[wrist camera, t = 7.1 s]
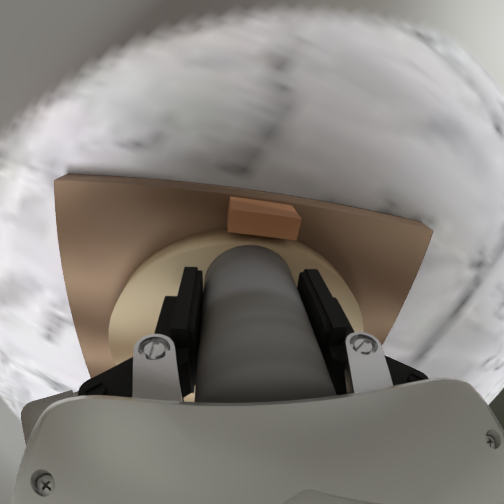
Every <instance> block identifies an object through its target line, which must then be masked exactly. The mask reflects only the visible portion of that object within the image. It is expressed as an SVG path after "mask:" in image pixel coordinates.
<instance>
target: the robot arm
mask: <svg viewBox="0 0 504 504" xmlns="http://www.w3.org/2000/svg"><path fill="white" fill-rule="evenodd" d="M297 289H298V292H299V295H300V297H301V300H302V302H303V305H304V308H305V310H306V313H307V315H308V318H309V321H310V323H311V326H312V329H313V331H314V334H315V337H316V339H317V342H318V345H319V348H320V350H321V353H322V356H323V358H324V361H325V364H326V367H327V370H328V372H329V375H330V378H331V381H332V383H333V386H334V389H335V392H336V396H329V397H320V398H311V399H301V400H289V401H273V402H248V403H208V402H184V397H186V396H187V395H189V394H190V393H194V391H195V384H196V369H197V356H198V344H199V332H200V321H201V310H202V300H203V272H202V270H198V267H184V271H183V275H182V279H181V283H180V287H179V291H178V295H177V296H165V298H164V301H163V304H162V308H161V311H160V315H159V318H158V322H157V325H156V329H155V332H154V334H150V335H146V336H144V337H142V338H140V339H139V340H138V341H137V342H136V343H135V345H134V350H133V357H131V358H129V359H128V360H126V361H124V362H122V363H120V364H118V365H116V366H114V367H112V368H110V369H108V370H107V371H105V372H103V373H101V374H99V375H97V376H95V377H93V378H91V379H89V380H87V381H86V382H84V383H83V384H82V386H81V387H80V389H79V391H78V392H74V393H73V391H72V390H70V391H67V392H63V393H60V394H57V395H53V396H50V397H46V398H43V399H39V400H35V401H32V402H30V403H27V404H26V405H25V406H24V407H23V409H22V412H21V421H22V427H23V432H24V437H25V442H26V449H25V451H24V454H23V457H22V460H21V463H20V467H19V471H18V474H17V479H16V483H15V488H14V492H13V497H12V502H11V504H504V431H503V429H502V427H501V426H500V424H499V422H498V420H497V419H496V417H495V415H494V414H493V412H492V411H491V409H490V407H489V406H488V404H487V403H486V402H485V400H484V399H483V398H482V396H481V395H480V394H479V393H478V391H477V390H476V389H475V388H474V387H473V386H472V385H470V384H469V383H467V382H465V381H462V380H457V379H449V378H435V379H428V377H427V376H426V375H425V374H424V373H422V372H420V371H418V370H416V369H414V368H412V367H409V366H407V365H405V364H403V363H401V362H398V361H396V360H394V359H392V358H390V357H387V356H385V355H384V352H383V349H382V346H381V344H380V342H379V340H378V339H377V338H376V337H374V336H373V335H371V334H368V333H365V332H355V331H354V330H353V328H352V326H351V324H350V322H349V320H348V318H347V316H346V315H345V313H344V311H343V309H342V307H341V305H340V303H339V302H338V300H337V299H336V298H335V297H332V295H331V293H330V291H329V289H328V287H327V285H326V284H325V282H324V280H323V278H322V276H321V274H320V273H319V271H318V269H304V271H303V272H300V274H299V278H298V284H297Z"/></svg>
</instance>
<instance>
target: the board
mask: <svg viewBox="0 0 504 504" xmlns="http://www.w3.org/2000/svg"><path fill="white" fill-rule="evenodd" d="M54 195H55V211H56V223H57V233H58V242H59V250H60V257H61V263H62V269H63V275H64V281H65V286H66V291H67V296H68V300H69V305H70V309H71V313H72V317H73V321H74V325H75V329H76V332H77V336H78V340H79V343H80V346H81V350H82V353H83V356H84V359H85V362H86V365H87V368H88V371H89V374H90V377H91V378H93V377H95V376H97V375H99V374H101V373H103V372H105V371H107V370H108V369H110V368H112V367H114V366H116V364H115V362H114V360H113V357H112V354H111V351H110V345H109V324H110V319H111V315H112V312H113V310H114V307H115V305H116V303H117V301H118V299H119V297H120V295H121V293H122V291H123V289H124V287H125V285H126V283H127V282H128V280H129V279H130V277H131V275H132V274H133V273H134V271H135V270H136V269H137V268H138V267H139V266H140V265H141V264H142V263H143V262H144V261H145V260H146V259H148V258H149V257H150V256H152V255H153V254H154V253H155V252H157V251H158V250H160V249H162V248H164V247H166V246H167V245H169V244H171V243H173V242H175V241H178V240H180V239H183V238H186V237H188V236H191V235H195V234H199V233H204V232H208V231H215V230H224V229H228V232H232V233H240V234H249V235H257V236H265V237H273V238H281V239H289V240H296V241H298V242H301V243H303V244H305V245H307V246H308V247H310V248H312V249H313V250H315V251H316V252H318V253H320V254H321V255H322V256H323V257H324V258H325V259H327V260H328V261H329V262H330V263H331V264H332V265H333V266H334V267H335V269H336V270H337V271H338V272H339V274H340V275H341V276H342V278H343V279H344V281H345V282H346V284H347V286H348V287H349V289H350V290H351V292H352V293H353V295H354V297H355V299H356V301H357V303H358V305H359V308H360V311H361V314H362V318H363V327H364V330H363V332H365V333H368V334H371V335H373V336H374V337H376V338H377V339H378V340H379V342H380V344H381V346H382V344H383V343H384V341H385V339H386V337H387V335H388V333H389V332H390V330H391V328H392V326H393V324H394V322H395V320H396V318H397V316H398V314H399V312H400V310H401V308H402V306H403V304H404V302H405V300H406V298H407V295H408V293H409V291H410V289H411V287H412V284H413V282H414V280H415V278H416V275H417V273H418V270H419V268H420V266H421V263H422V261H423V258H424V256H425V253H426V251H427V248H428V245H429V243H430V240H431V237H432V234H433V230H432V229H430V228H429V227H428V226H426V225H425V224H423V223H422V222H419V221H415V220H411V219H406V218H402V217H398V216H393V215H389V214H384V213H380V212H375V211H370V210H365V209H360V208H355V207H350V206H345V205H340V204H335V203H329V202H324V201H318V200H313V199H307V198H301V197H295V196H289V195H283V194H276V193H270V192H263V191H256V190H249V189H241V188H234V187H226V186H218V185H209V184H201V183H191V182H182V181H171V180H160V179H148V178H135V177H120V176H103V175H80V174H66V175H64V176H62V177H60V178H58V179H56V180H54Z"/></svg>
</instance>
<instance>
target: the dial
mask: <svg viewBox="0 0 504 504" xmlns="http://www.w3.org/2000/svg"><path fill="white" fill-rule="evenodd" d="M184 267H198V270H202V272H203V300H202V310H201V321H200V332H199V344H198V356H197V369H196V384H195V391H194V393H190V394H189V395H187V396H186V397H184V402H208V403H248V402H273V401H289V400H301V399H311V398H320V397H329V396H336V392H335V389H334V386H333V383H332V381H331V378H330V375H329V372H328V370H327V367H326V364H325V361H324V358H323V356H322V353H321V350H320V348H319V345H318V342H317V339H316V337H315V334H314V331H313V329H312V326H311V323H310V321H309V318H308V315H307V313H306V310H305V308H304V305H303V302H302V300H301V297H300V295H299V292H298V289H297V284H298V278H299V274H300V272H303V271H304V269H318V271H319V273H320V274H321V276H322V278H323V280H324V282H325V284H326V285H327V287H328V289H329V291H330V293H331V295H332V297H335V298H336V299H337V300H338V302H339V303H340V305H341V307H342V309H343V311H344V313H345V315H346V316H347V318H348V320H349V322H350V324H351V326H352V328H353V330H354V331H355V332H363V330H364V327H363V318H362V314H361V311H360V308H359V305H358V303H357V301H356V299H355V297H354V295H353V293H352V292H351V290H350V289H349V287H348V286H347V284H346V282H345V281H344V279H343V278H342V276H341V275H340V274H339V272H338V271H337V270H336V269H335V267H334V266H333V265H332V264H331V263H330V262H329V261H328V260H327V259H325V258H324V257H323V256H322V255H321V254H320V253H318V252H316V251H315V250H313V249H312V248H310V247H308V246H307V245H305V244H303V243H301V242H298V241H296V240H289V239H281V238H273V237H265V236H257V235H249V234H240V233H232V232H228V229H224V230H215V231H208V232H204V233H199V234H195V235H191V236H188V237H186V238H183V239H180V240H178V241H175V242H173V243H171V244H169V245H167V246H166V247H164V248H162V249H160V250H158V251H157V252H155V253H154V254H153V255H152V256H150V257H149V258H148V259H146V260H145V261H144V262H143V263H142V264H141V265H140V266H139V267H138V268H137V269H136V270H135V271H134V273H133V274H132V275H131V277H130V279H129V280H128V282H127V283H126V285H125V287H124V289H123V291H122V293H121V295H120V297H119V299H118V301H117V303H116V305H115V307H114V310H113V312H112V315H111V319H110V324H109V345H110V351H111V354H112V357H113V360H114V362H115V364H116V365H118V364H120V363H122V362H124V361H126V360H128V359H129V358H131V357H133V350H134V345H135V343H136V342H137V341H138V340H139V339H140V338H142V337H144V336H146V335H150V334H154V332H155V329H156V325H157V322H158V318H159V315H160V311H161V308H162V304H163V301H164V298H165V296H177V295H178V291H179V287H180V283H181V279H182V275H183V271H184Z"/></svg>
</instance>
